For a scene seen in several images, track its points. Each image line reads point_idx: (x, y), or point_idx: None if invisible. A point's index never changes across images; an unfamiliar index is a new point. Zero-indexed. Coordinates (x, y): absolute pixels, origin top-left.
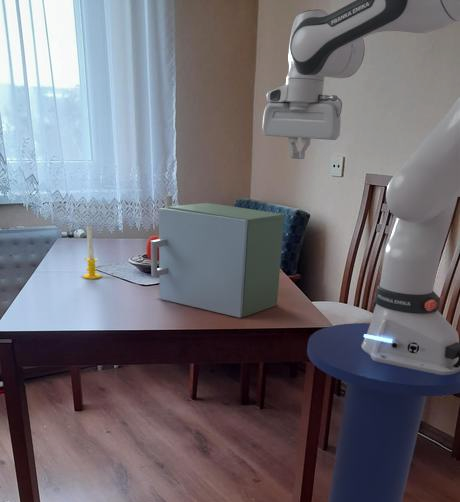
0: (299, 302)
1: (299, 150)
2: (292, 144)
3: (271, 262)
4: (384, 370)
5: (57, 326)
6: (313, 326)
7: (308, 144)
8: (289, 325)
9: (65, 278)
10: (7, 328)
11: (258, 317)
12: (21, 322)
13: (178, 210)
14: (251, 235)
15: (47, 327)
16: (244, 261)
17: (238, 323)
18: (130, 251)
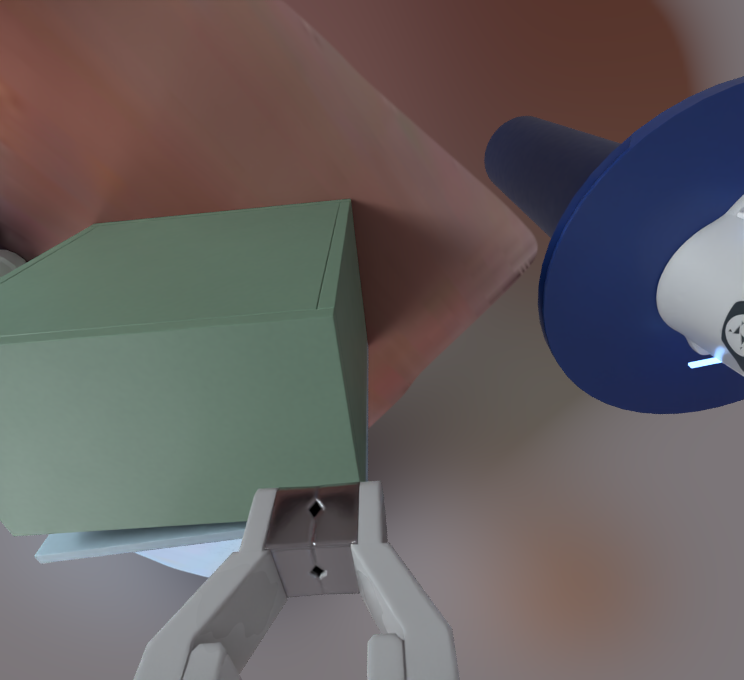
0: (374, 112)
1: (364, 598)
2: (237, 658)
3: (351, 295)
4: (720, 372)
5: (230, 543)
6: (516, 267)
7: (443, 633)
8: (471, 302)
9: None
10: (206, 576)
11: (389, 312)
12: (190, 561)
13: (103, 549)
14: (363, 457)
15: (227, 551)
16: (367, 426)
17: (388, 368)
18: None
